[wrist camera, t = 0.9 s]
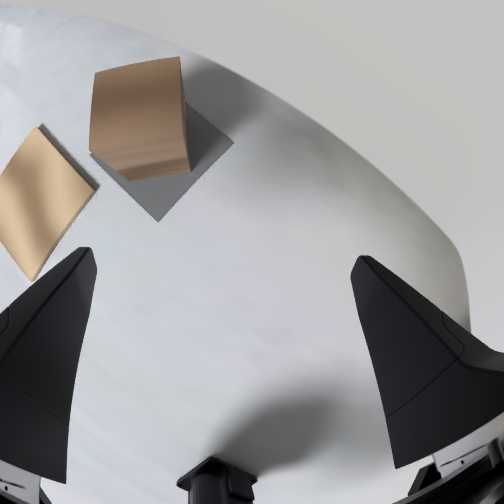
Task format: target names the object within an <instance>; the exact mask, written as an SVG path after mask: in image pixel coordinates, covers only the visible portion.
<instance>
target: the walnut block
mask: <svg viewBox="0 0 504 504" xmlns="http://www.w3.org/2000/svg"><path fill="white" fill-rule="evenodd" d="M89 151H91V152H92V153H93V154H94V155H96V156H97V157H98V158H100V159H101V160H102V161H104V162H105V163H106V164H107V165H109V166H110V167H111V168H113V169H114V170H115V171H117V172H118V173H119V174H120V175H122V176H123V177H124V178H126V179H127V180H128V181H134V180H140V179H146V178H152V177H159V176H166V175H173V174H180V173H188V172H191V168H190V156H189V142H188V127H187V113H186V106H185V98H184V90H183V82H182V73H181V64H180V57H172V58H164V59H158V60H152V61H146V62H141V63H135V64H130V65H126V66H121V67H117V68H113V69H109V70H105V71H101V72H97V73H95V78H94V86H93V95H92V105H91V117H90V135H89Z"/></svg>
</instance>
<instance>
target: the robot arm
mask: <svg viewBox="0 0 504 504" xmlns="http://www.w3.org/2000/svg"><path fill="white" fill-rule="evenodd" d="M96 275H97V266H96V262H95V259H94V255H93V251H92V249H91V248H90V247H79V248H77V249H76V250H75V251H73V252H72V253H71V254H70V255H68V256H67V257H66V258H64V259H63V260H62V261H61V262H59V263H58V264H57V265H56V266H54V267H53V268H52V269H51V270H49V271H48V272H47V273H46V274H44V275H43V276H42V277H41V278H40V279H38V280H37V281H36V282H35V283H34V284H33V285H31V286H30V287H29V288H28V289H27V290H26V291H25V292H23V293H22V294H21V295H20V296H19V297H18V298H17V299H16V300H14V301H13V302H12V303H11V304H10V305H9V307H7V308H6V309H5V310H4V311H3V312H2V313H0V504H52V503H51V502H50V500H49V499H48V497H47V496H46V494H45V493H44V492H43V490H42V489H41V487H40V479H41V477H44V478H47V479H50V480H53V481H56V482H60V483H63V484H66V470H67V447H68V433H69V428H68V427H69V421H70V412H71V404H72V397H73V390H74V384H75V378H76V372H77V367H78V362H79V357H80V352H81V347H82V343H83V339H84V334H85V330H86V326H87V322H88V318H89V314H90V309H91V303H92V297H93V291H94V285H95V280H96ZM351 283H352V288H353V292H354V297H355V302H356V307H357V311H358V316H359V319H360V323H361V326H362V329H363V333H364V336H365V339H366V343H367V346H368V350H369V353H370V357H371V361H372V364H373V368H374V372H375V376H376V380H377V384H378V388H379V392H380V396H381V400H382V404H383V409H384V413H385V418H386V423H387V428H388V433H389V438H390V443H391V448H392V454H393V460H394V465H395V469H398V468H401V467H403V466H406V465H408V464H411V463H413V462H415V461H418V460H420V459H422V458H425V457H427V456H429V455H431V454H432V456H433V460H434V462H432V463H430V464H429V465H427V466H425V467H423V468H421V469H419V472H418V474H417V476H416V478H415V480H414V482H413V484H412V487H411V489H410V491H409V493H408V497H406V498H404V499H402V500H399V501H397V502H395V503H393V504H504V353H501V352H497V351H494V350H493V349H491V348H489V347H488V346H486V345H485V344H484V343H482V342H481V341H480V340H479V339H477V338H476V337H474V336H473V335H472V334H471V333H469V332H468V331H467V330H465V329H464V328H463V327H461V326H460V325H459V324H458V323H456V322H455V321H454V320H453V319H451V318H450V317H449V316H448V315H446V314H445V313H444V312H443V311H440V309H439V308H438V307H437V306H435V305H434V304H433V303H432V302H430V301H429V300H428V299H427V298H425V297H424V296H423V295H422V294H420V293H419V292H418V291H416V290H415V289H414V288H413V287H411V286H410V285H409V284H407V283H406V282H405V281H403V280H402V279H401V278H399V277H398V276H397V275H395V274H394V273H393V272H391V271H390V270H389V269H387V268H386V267H385V266H383V265H382V264H381V263H379V262H378V261H377V260H375V259H374V258H372V257H371V256H368V255H361V256H359V257H358V258H357V260H356V262H355V265H354V267H353V269H352V272H351ZM211 461H214V462H211ZM256 482H257V477H256V476H253V475H251V474H249V473H247V472H245V471H242V470H240V469H238V468H236V467H233V466H231V465H229V464H227V463H224V462H222V461H220V460H218V459H216V458H214V457H210V458H208V459H207V460H205V461H204V462H203V463H202V464H200V465H199V466H198V467H196V468H195V469H194V470H192V471H191V472H189V473H188V474H187V475H185V476H184V477H183V478H181V479H180V480H178V481H177V486H178V487H179V488H182V489H184V490H186V491H188V504H253V500H255V498H254V494H253V490H252V485H253V484H255V483H256Z"/></svg>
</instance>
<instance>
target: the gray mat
mask: <svg viewBox="0 0 504 504" xmlns="http://www.w3.org/2000/svg"><path fill="white" fill-rule="evenodd" d="M185 106H186V113H187V127H188V142H189V156H190V168H191V172H188V173H180V174H173V175H166V176H159V177H152V178H146V179H140V180H134V181H128V180H127V179H126V178H124V177H123V176H122V175H120V174H119V173H118V172H117V171H115V170H114V169H113V168H111V167H110V166H109V165H107V164H106V163H105V162H104V161H102V160H101V159H100V158H98V157H97V156H96V155H94V154H93V153H91V154H90V156H91V157H92V158H93V159H94V160H95V161H96V162H97V164H98V165H99V166H100V167H101V168H102V169H103V170H104V171H105V172H106V173H108V174H109V175H110V176H111V177H112V178H113V179H114V180H115V181H116V182H117V183H118V184H119V185H120V186H121V187H122V188H123V189H124V190H125V191H126V192H127V193H128V194H129V195H130V196H131V197H132V198H133V199H134V200H135V201H136V202H137V203H138V204H139V205H140V206H141V207H142V208H144V209H145V210H146V211H147V212H148V213H149V214H150V215H151V216H152V217H153V218H154V219H155V220H156V221H157V222H159V221H160V220H161V219H162V217H163V216H164V215H165V214H166V213H167V212H168V211H169V210H170V208H171V207H172V206H173V205H174V204H175V203H176V202H177V201H178V200H179V199H180V197H181V196H182V195H183V194H184V193H185V192H186V191H187V190H188V189H189V188H190V187H191V186H192V185H193V184H194V183H195V182H196V180H197V179H198V178H199V177H200V176H201V175H202V174H203V173H204V172H205V171H206V170H207V169H208V168H209V167H210V166H211V165H212V164H213V163H214V162H215V161H216V160H217V159H218V158H219V157H220V156H221V155H222V154H223V153H224V152H225V151H226V150H227V149H228V148H229V147H230V146H231V145H232V144H233V142H232V141H230V140H229V139H228V138H227V137H226V136H225V135H223V134H222V133H221V132H220V131H219V130H218V129H216V128H215V127H214V126H213V125H212V124H211V123H209V122H208V121H207V120H206V119H205V118H203V117H202V116H201V115H200V114H199V113H197V112H196V111H195V110H194V109H192V108H191V107H190V106H189V105H187V104H186V103H185Z"/></svg>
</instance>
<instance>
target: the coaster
mask: <svg viewBox="0 0 504 504" xmlns="http://www.w3.org/2000/svg"><path fill="white" fill-rule="evenodd" d="M95 192H96V191H95V190H94V189H93V188H92V187H91V186H90V184H89V183H88V182H87V181H86V180H85V179H84V178H83V177H82V176H81V175H80V174H79V173H78V172H77V171H76V170H75V169H74V167H73V166H72V165H71V164H70V163H69V162H68V161H67V160H66V159H65V158H64V157H63V155H62V154H61V153H60V152H59V151H58V150H57V149H56V148H55V146H54V145H53V144H52V143H51V142H50V141H49V140H48V138H47V137H46V136H45V135H44V134H43V133H42V132H41V130H40V129H39V128H38V127H36V126H35V127H34V129H33V130H32V131H31V132H30V134H29V135H28V136H27V138H26V139H25V140H24V142H23V143H22V144H21V146H20V147H19V149H18V150H17V151H16V153H15V154H14V156H13V157H12V159H11V160H10V162H9V163H8V165H7V166H6V168H5V169H4V171H3V172H2V174H1V176H0V241H1V243H2V244H3V245H4V247H5V248H6V250H7V251H8V253H9V254H10V255H11V257H12V258H13V259H14V261H15V262H16V263H17V265H18V266H19V267H20V269H21V270H22V271H23V273H24V274H25V275H26V276H27V278H28V279H29V280H30V281H31V282H32V281H35V279H36V277H37V275H38V274H39V272H40V270H41V269H42V267H43V265H44V264H45V262H46V261H47V259H48V258H49V256H50V254H51V253H52V251H53V250H54V248H55V247H56V245H57V244H58V242H59V241H60V239H61V238H62V236H63V235H64V233H65V232H66V231H67V229H68V228H69V226H70V225H71V224H72V222H73V221H74V220H75V218H76V217H77V215H78V214H79V213H80V211H81V210H82V209H83V208H84V206H85V205H86V204H87V202H88V201H89V200H90V199H91V197H92V196H93V195H94V194H95Z"/></svg>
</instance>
